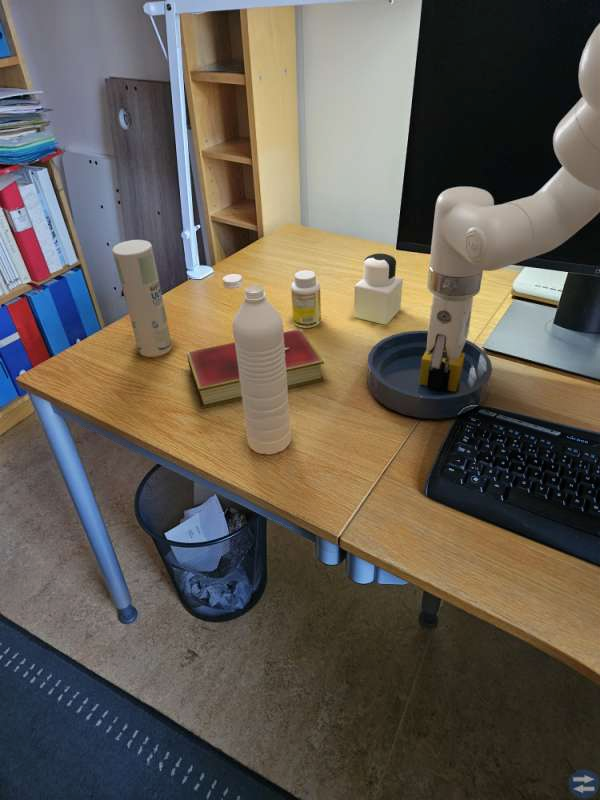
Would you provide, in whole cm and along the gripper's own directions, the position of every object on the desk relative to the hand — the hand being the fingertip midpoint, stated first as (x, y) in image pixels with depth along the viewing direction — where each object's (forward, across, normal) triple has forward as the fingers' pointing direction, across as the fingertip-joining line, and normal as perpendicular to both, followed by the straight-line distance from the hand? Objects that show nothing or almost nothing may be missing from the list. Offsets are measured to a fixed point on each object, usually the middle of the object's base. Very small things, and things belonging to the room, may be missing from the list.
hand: (440, 380), depth 92 cm
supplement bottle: (+1, +12, +29) cm, 32 cm away
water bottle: (+1, -22, +21) cm, 31 cm away
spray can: (+1, -7, +52) cm, 53 cm away
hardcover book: (+1, -8, +30) cm, 31 cm away
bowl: (+1, 0, +2) cm, 2 cm away
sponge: (0, 0, 0) cm, 0 cm away
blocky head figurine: (+1, +20, +17) cm, 26 cm away
